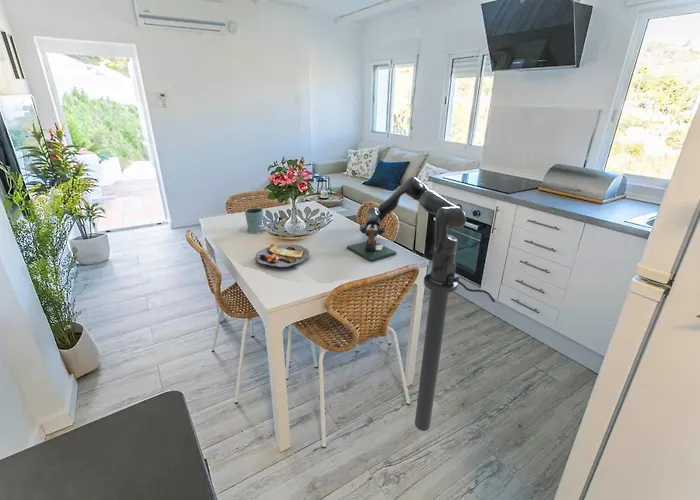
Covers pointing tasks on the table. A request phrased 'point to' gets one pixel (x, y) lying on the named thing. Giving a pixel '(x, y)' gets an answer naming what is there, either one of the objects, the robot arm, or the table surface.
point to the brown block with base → (371, 241)
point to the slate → (370, 255)
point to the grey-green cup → (254, 219)
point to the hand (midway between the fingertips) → (371, 234)
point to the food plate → (282, 255)
